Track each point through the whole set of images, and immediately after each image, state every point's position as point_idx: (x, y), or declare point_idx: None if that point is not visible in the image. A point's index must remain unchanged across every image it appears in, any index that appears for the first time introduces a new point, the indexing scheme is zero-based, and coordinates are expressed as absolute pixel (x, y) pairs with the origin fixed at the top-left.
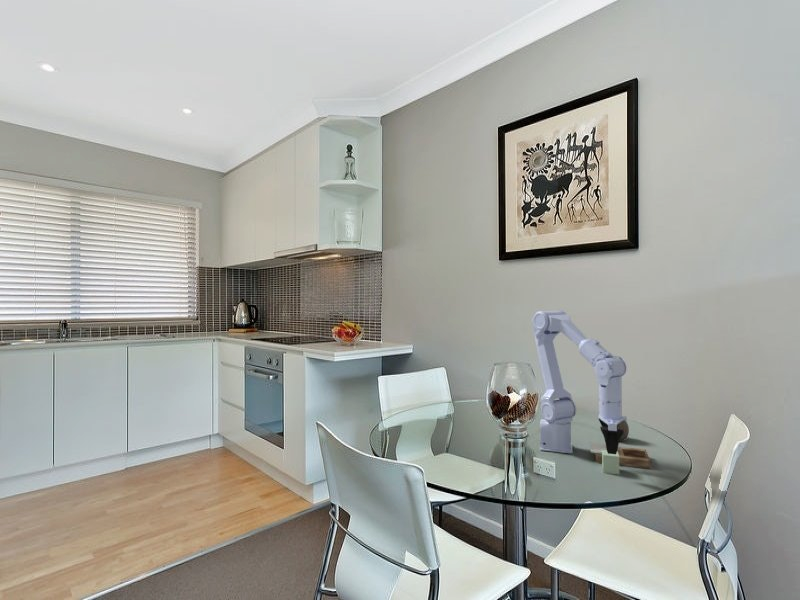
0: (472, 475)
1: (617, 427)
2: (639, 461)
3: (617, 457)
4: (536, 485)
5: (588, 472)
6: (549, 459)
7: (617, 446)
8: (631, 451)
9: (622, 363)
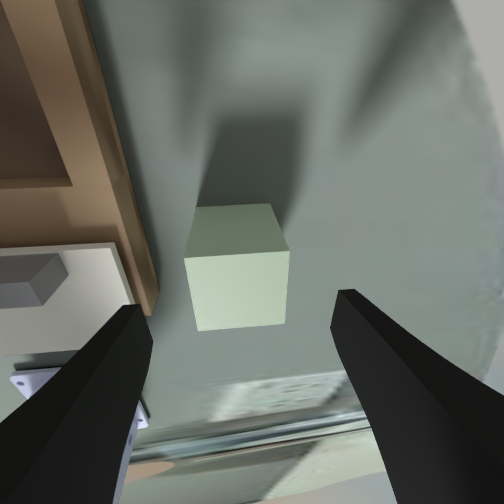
0: (362, 459)
1: (19, 481)
2: (83, 74)
3: (287, 256)
4: None
5: None
6: (213, 395)
7: (404, 332)
8: None
9: None
